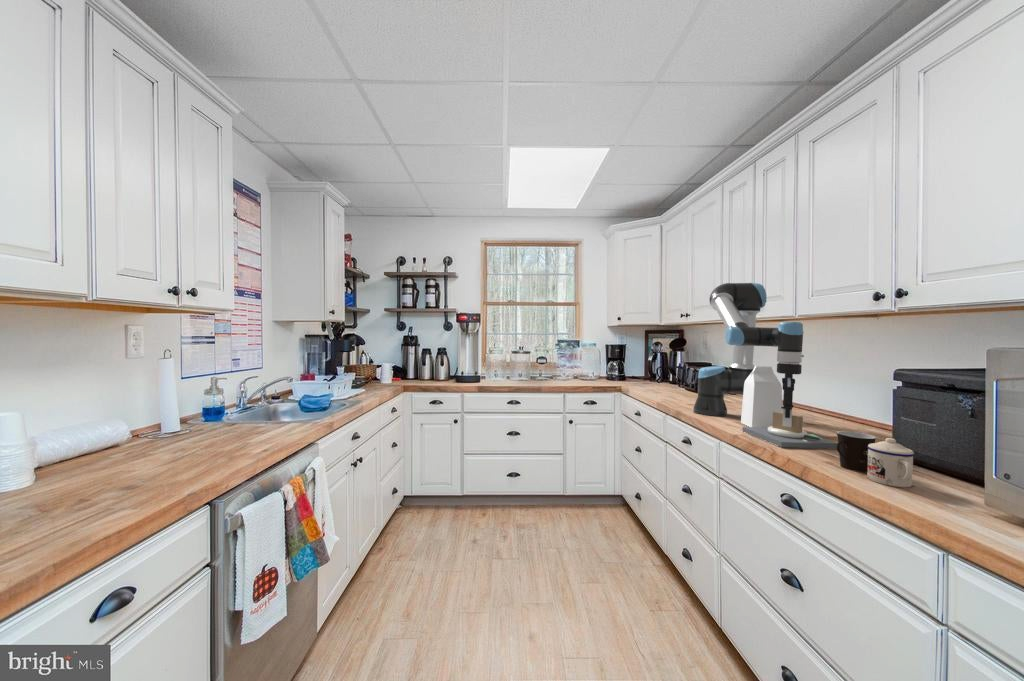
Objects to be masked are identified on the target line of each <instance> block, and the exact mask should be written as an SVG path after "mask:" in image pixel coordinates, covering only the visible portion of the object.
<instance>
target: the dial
mask: <svg viewBox="0 0 1024 681" xmlns="http://www.w3.org/2000/svg"><path fill="white" fill-rule="evenodd" d="M803 420H804V416H803V415H798V414H793V413H792V425H791V427H786V426H782V424H783V413H781V412H773V425H772V426H770V427H768V432H769V433H771V434H774V435H777V436H782V437H789V438H811V439H815V440H819V437H820V436H818V437H815V436H810V435H807V433H808V432H807V431H805V430H803Z"/></svg>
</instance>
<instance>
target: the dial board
mask: <svg viewBox="0 0 1024 681" xmlns="http://www.w3.org/2000/svg"><path fill="white" fill-rule="evenodd" d="M742 431H743V432H742V433H744V432H746V433H748V434H747V435H749V434H751V435H753V436H752V437H754V436H756V437H758V438H761V439H763V440H766V441H768V442H771V443H773V444H776V445H778V446H781V447H800V448H799V449H814V448H837V444H838V442H835V441H833V440H830V439H826V438H824V437H820V436H818V435H816V434H813V433H808V432H807V435H810V436H815V437H819V440H815V439H811V438H789V437H782V436H777V435H774V434H771V433H769V432H768V427H748V426H742ZM746 433H745V434H746ZM751 435H750V436H751ZM756 437H755V438H756ZM758 438H757V439H758ZM761 439H760V440H761ZM763 440H762V441H763ZM766 441H765V442H766ZM768 442H767V443H768ZM771 443H770V444H771ZM773 444H772V445H773ZM778 446H777V447H778Z"/></svg>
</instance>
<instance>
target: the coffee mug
mask: <svg viewBox="0 0 1024 681" xmlns="http://www.w3.org/2000/svg"><path fill="white" fill-rule="evenodd" d="M836 436H837V443H838V444H837V449H836V450H837V453H838V454H839V456H838V457H839V464H840V465H839V466H840V468H843V469H846V470H848V471H853V472H858V473H867V471H868V448H867V446H868V445H869V444H871V443H876V439H877V437H876V436H875V435H872V434H867V433H862V432H858V431H846V430H839V431H836Z"/></svg>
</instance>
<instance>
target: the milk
mask: <svg viewBox="0 0 1024 681" xmlns="http://www.w3.org/2000/svg"><path fill="white" fill-rule="evenodd" d="M754 366H755V367H754V369H753V371H752V372H751V374H750V375H749V376H748V377H747V379H746V380H745V382H744V392H743V394H742V404H741V419H740V423H741V424H743V425H744V424H745V425H744V426H746V425H747V426H746V427H748V426H749V427H770V426H772V425H773V412H781V413H783V409H782V408H781V407H783V385H782V384H781V383H782V382H780V380H779V379H778V377H777V375H776V374H775V372H774V370H773V367H772V366H765V365H754Z"/></svg>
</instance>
